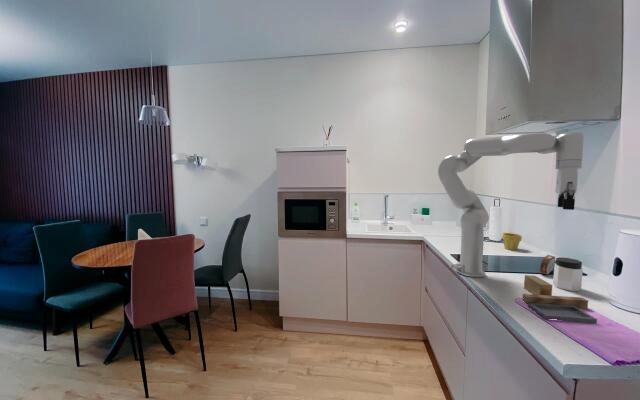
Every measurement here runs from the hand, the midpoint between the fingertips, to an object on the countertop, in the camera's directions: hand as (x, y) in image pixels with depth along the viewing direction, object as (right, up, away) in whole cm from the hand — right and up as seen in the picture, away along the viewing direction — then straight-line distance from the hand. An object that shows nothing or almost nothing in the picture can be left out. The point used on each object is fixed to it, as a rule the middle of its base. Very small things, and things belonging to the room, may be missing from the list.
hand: (565, 208), depth 105 cm
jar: (+9, -35, +9) cm, 37 cm away
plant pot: (+29, -29, +69) cm, 81 cm away
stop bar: (-10, -35, +2) cm, 36 cm away
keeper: (-15, -36, -14) cm, 42 cm away
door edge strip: (-11, -36, -7) cm, 38 cm away
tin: (+15, -33, +26) cm, 45 cm away
